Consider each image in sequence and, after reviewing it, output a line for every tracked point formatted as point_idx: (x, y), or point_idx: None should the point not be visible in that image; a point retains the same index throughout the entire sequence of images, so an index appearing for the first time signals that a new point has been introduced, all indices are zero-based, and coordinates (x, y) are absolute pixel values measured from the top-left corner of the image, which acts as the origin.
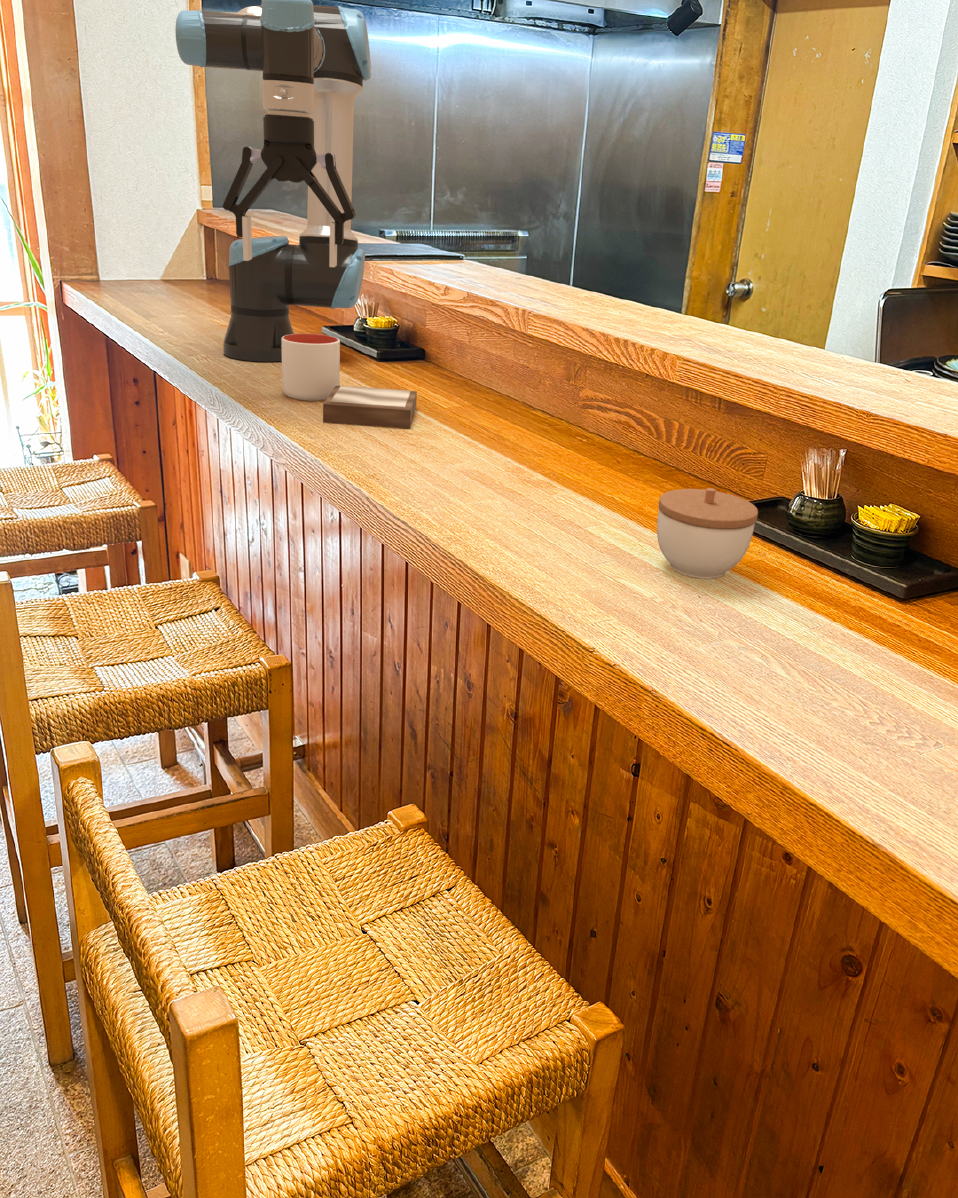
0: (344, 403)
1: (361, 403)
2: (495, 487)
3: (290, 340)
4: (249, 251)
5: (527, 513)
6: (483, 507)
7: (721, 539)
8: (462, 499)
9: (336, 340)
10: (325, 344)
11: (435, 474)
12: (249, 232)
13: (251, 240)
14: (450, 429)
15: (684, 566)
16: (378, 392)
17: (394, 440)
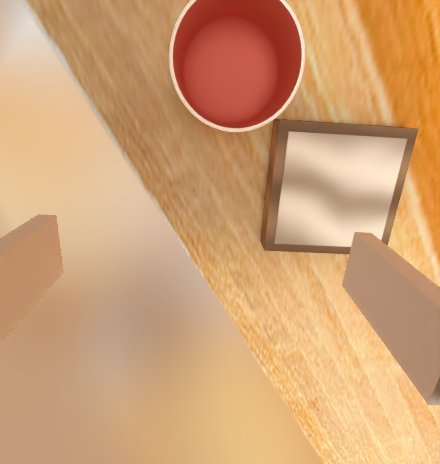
0: (294, 243)
1: (318, 243)
2: (418, 411)
3: (184, 21)
4: (46, 263)
5: (425, 455)
6: (394, 449)
7: None
8: (382, 438)
9: (296, 31)
10: (273, 119)
11: (371, 390)
12: (3, 295)
13: (20, 245)
14: (426, 236)
15: None
16: (350, 167)
17: (346, 297)
